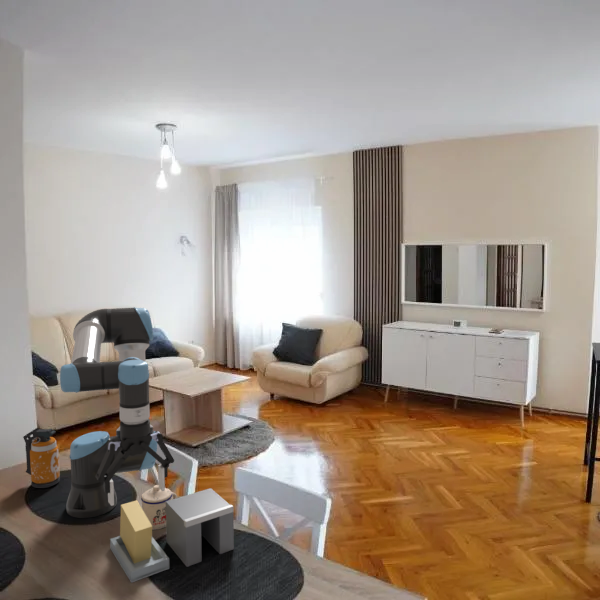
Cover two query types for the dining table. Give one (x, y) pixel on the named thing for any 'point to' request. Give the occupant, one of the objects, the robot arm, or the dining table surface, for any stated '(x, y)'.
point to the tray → (142, 568)
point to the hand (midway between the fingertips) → (137, 496)
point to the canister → (42, 458)
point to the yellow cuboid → (136, 531)
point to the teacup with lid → (156, 505)
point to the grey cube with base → (199, 524)
